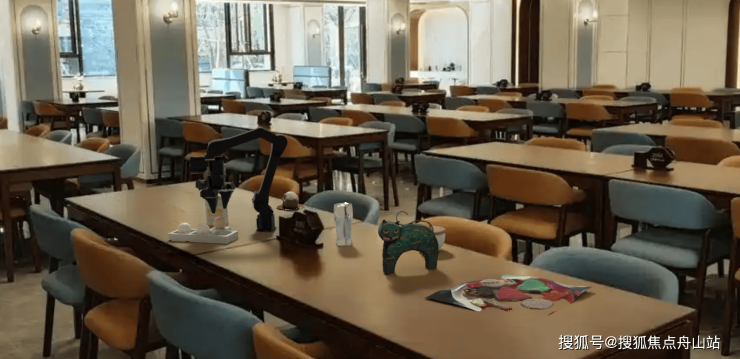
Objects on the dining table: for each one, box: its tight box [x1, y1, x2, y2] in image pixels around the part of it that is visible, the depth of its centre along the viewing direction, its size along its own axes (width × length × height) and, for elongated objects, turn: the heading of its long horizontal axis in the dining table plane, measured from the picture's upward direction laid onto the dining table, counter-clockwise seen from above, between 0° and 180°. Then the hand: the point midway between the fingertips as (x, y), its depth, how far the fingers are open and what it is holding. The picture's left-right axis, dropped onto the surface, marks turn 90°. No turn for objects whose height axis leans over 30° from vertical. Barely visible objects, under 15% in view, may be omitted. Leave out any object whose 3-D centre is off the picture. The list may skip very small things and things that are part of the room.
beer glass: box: [333, 202, 354, 247], centre depth 298 cm, size 7×7×15 cm
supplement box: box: [204, 194, 229, 227], centre depth 337 cm, size 8×5×13 cm, turn 84°
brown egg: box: [213, 216, 227, 229], centre depth 323 cm, size 5×5×5 cm
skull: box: [276, 191, 304, 211], centre depth 370 cm, size 12×10×10 cm
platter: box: [424, 274, 592, 316], centre depth 234 cm, size 35×35×2 cm
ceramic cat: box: [377, 210, 440, 276], centre depth 261 cm, size 20×6×20 cm, turn 105°
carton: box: [167, 222, 239, 245], centre depth 313 cm, size 25×9×6 cm, turn 73°
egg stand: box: [210, 226, 232, 231], centre depth 323 cm, size 6×6×2 cm
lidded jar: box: [426, 224, 446, 251], centre depth 287 cm, size 11×11×9 cm
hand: (219, 211), depth 322 cm, fingers open, 9 cm apart
